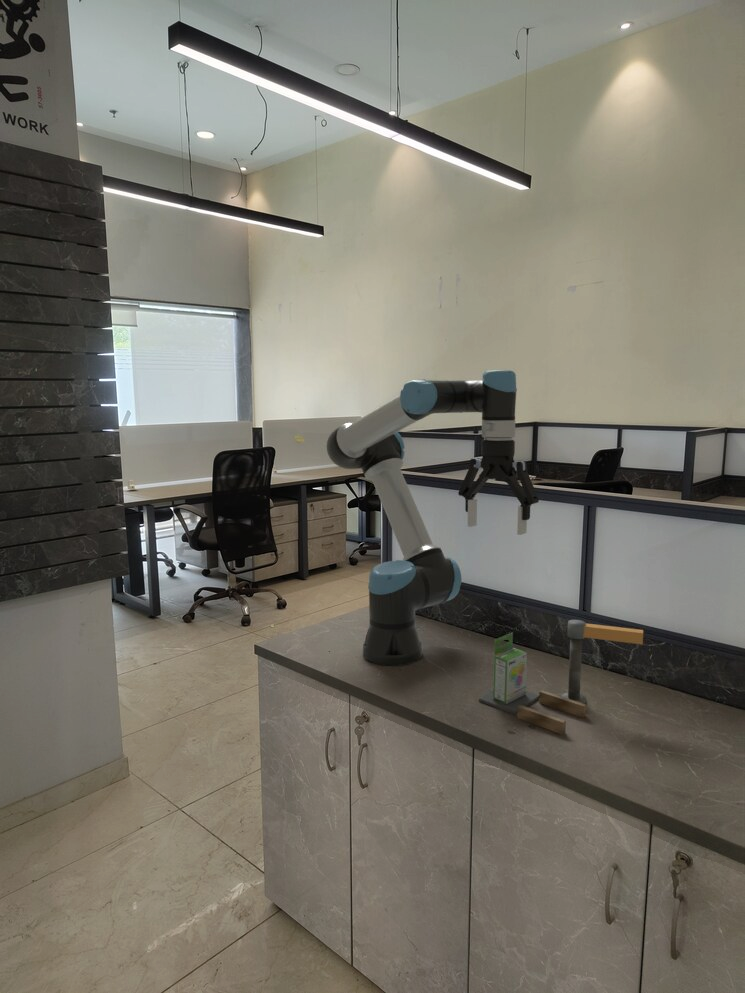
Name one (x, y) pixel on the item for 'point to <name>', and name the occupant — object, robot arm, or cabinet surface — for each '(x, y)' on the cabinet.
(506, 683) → the ink box
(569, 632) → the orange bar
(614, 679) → the cabinet surface
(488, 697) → the pad
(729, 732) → the cabinet surface
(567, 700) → the dock
